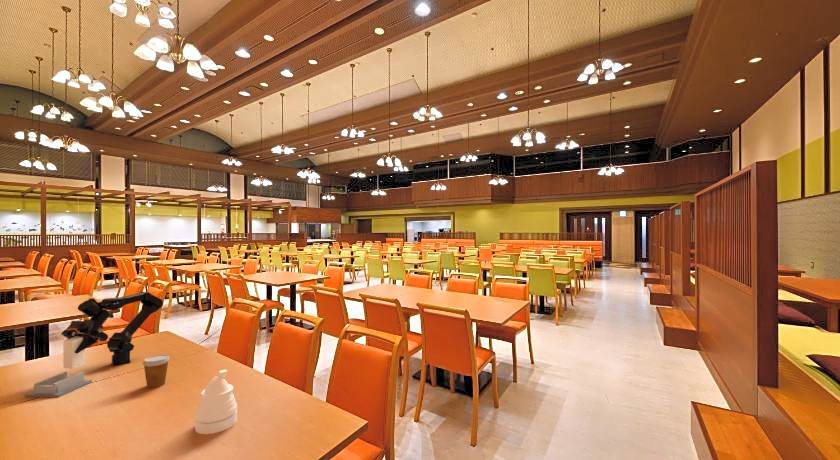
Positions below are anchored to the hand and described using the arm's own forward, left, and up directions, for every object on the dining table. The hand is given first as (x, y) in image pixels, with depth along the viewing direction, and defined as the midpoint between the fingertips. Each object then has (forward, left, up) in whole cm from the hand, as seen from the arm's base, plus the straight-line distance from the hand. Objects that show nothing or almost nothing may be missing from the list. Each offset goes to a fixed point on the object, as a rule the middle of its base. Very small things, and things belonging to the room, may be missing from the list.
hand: (70, 352), depth 153 cm
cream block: (-1, -1, -7) cm, 7 cm away
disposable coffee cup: (-25, +32, -14) cm, 42 cm away
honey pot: (-31, +86, -14) cm, 92 cm away
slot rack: (+3, +6, -13) cm, 15 cm away
